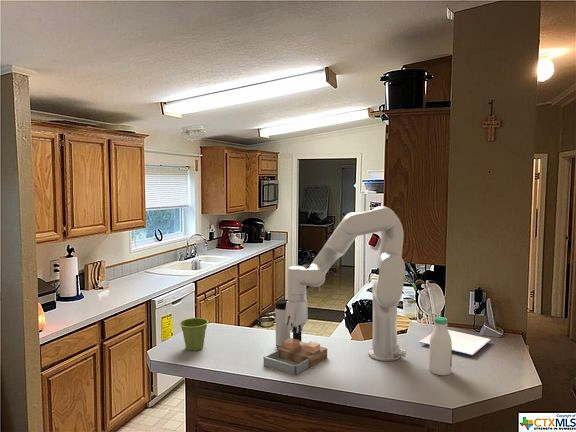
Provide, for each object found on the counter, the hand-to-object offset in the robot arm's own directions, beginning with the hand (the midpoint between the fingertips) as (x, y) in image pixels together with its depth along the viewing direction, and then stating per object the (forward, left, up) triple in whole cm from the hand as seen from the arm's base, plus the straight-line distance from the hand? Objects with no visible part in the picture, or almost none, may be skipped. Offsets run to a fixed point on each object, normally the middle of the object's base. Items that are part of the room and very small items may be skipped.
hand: (297, 341), depth 181 cm
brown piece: (-5, +3, -5) cm, 7 cm away
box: (-5, +13, -5) cm, 15 cm away
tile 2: (-9, +2, -1) cm, 10 cm away
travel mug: (+9, -3, -5) cm, 11 cm away
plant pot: (+38, +21, -5) cm, 44 cm away
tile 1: (0, +4, -1) cm, 4 cm away
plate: (-49, -48, -6) cm, 69 cm away
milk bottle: (-53, -17, -5) cm, 55 cm away
